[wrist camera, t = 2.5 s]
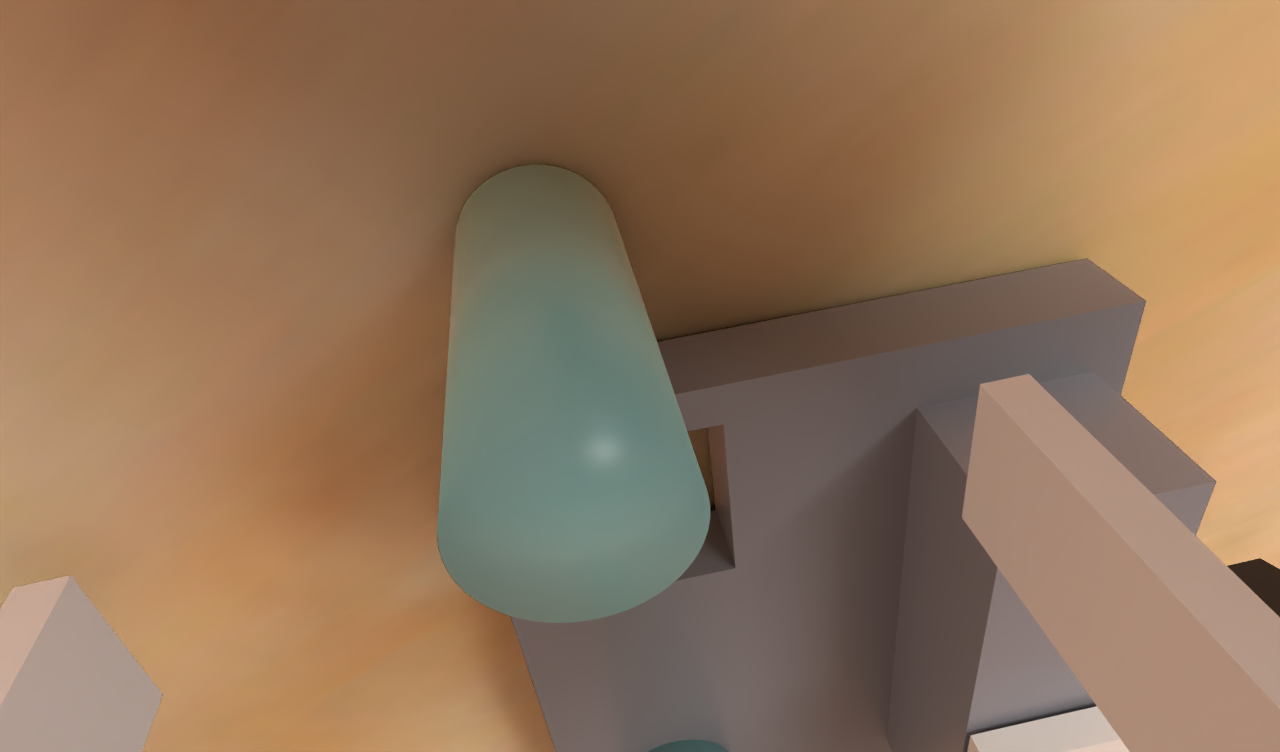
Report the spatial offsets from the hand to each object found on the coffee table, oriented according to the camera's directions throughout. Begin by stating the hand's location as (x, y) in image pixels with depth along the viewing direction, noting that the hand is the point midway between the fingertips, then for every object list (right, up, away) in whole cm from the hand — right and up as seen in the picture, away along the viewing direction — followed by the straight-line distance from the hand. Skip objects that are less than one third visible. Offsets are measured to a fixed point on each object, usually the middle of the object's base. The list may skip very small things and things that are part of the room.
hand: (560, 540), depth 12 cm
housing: (+6, -4, +16) cm, 18 cm away
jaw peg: (-1, +6, +8) cm, 10 cm away
